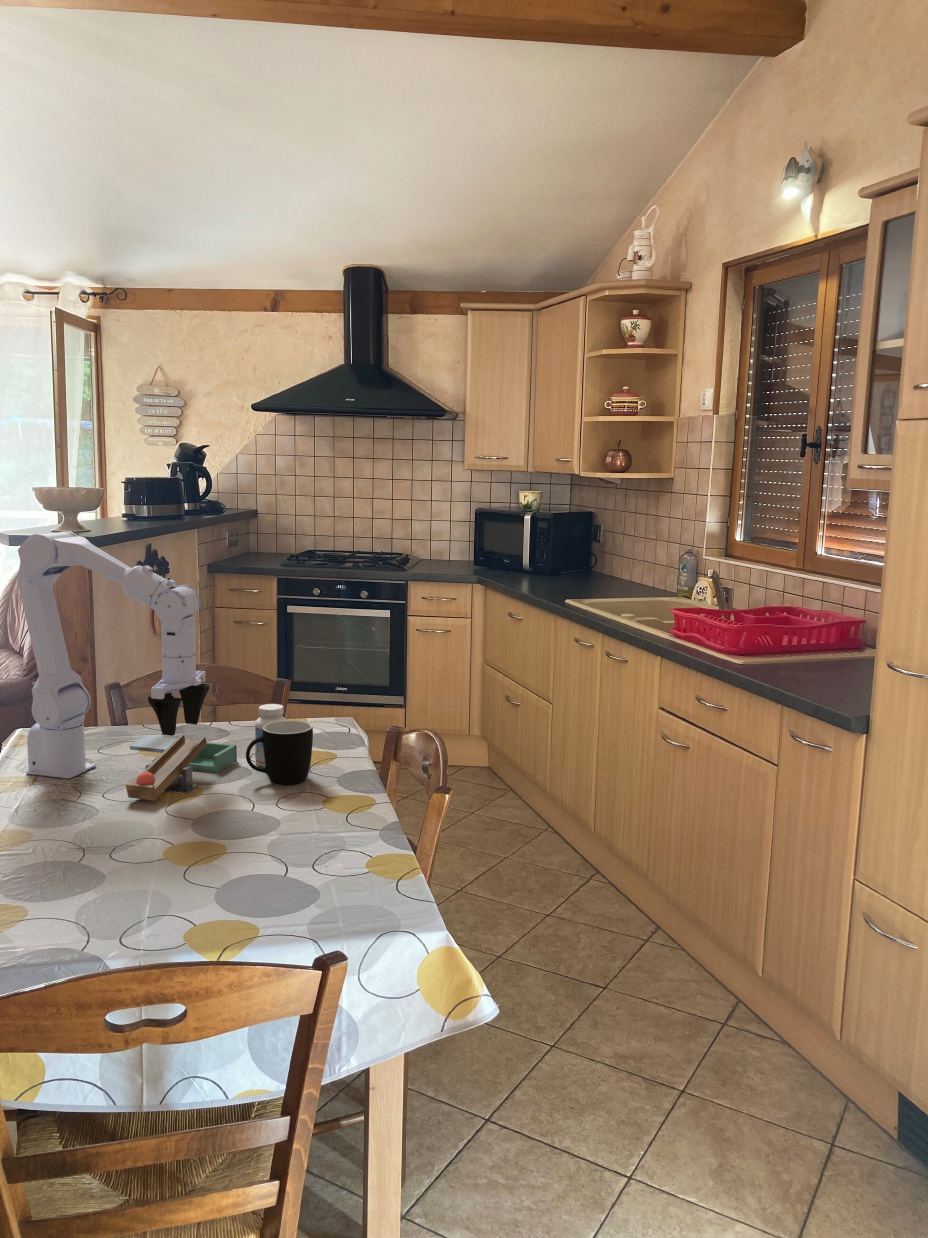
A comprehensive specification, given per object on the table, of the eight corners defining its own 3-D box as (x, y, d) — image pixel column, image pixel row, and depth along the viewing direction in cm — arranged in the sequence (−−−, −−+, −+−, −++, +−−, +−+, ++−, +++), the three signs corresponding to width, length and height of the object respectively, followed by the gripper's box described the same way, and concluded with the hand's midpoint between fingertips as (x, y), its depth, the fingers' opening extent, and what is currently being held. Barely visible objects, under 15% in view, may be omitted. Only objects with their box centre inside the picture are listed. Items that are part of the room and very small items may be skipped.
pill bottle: (270, 770, 177) (269, 712, 175) (248, 763, 181) (248, 707, 179) (294, 762, 182) (293, 706, 180) (273, 756, 186) (272, 701, 184)
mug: (308, 770, 178) (308, 718, 176) (317, 786, 169) (316, 731, 168) (243, 776, 174) (242, 723, 172) (249, 792, 165) (248, 736, 164)
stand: (140, 788, 166) (139, 766, 165) (153, 781, 170) (152, 759, 169) (186, 793, 164) (185, 771, 163) (198, 786, 168) (197, 764, 167)
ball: (135, 792, 159) (130, 778, 158) (144, 780, 162) (140, 767, 160) (151, 794, 159) (146, 780, 157) (160, 782, 161) (155, 769, 160)
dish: (179, 768, 177) (178, 752, 177) (199, 757, 184) (199, 741, 184) (217, 772, 175) (217, 756, 175) (236, 761, 182) (236, 745, 182)
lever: (85, 795, 162) (81, 779, 160) (142, 741, 177) (139, 726, 176) (157, 804, 158) (154, 788, 157) (209, 748, 174) (207, 733, 173)
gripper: (176, 664, 159) (178, 742, 161) (219, 649, 173) (220, 721, 175) (139, 661, 161) (141, 738, 163) (185, 646, 174) (186, 717, 177)
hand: (180, 729), depth 169 cm, fingers open, 7 cm apart
